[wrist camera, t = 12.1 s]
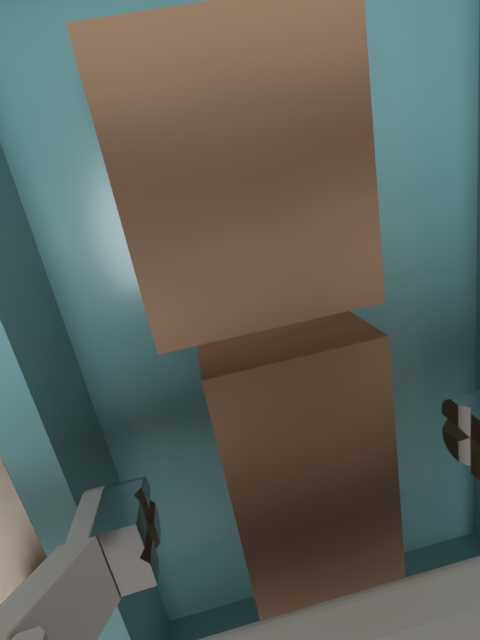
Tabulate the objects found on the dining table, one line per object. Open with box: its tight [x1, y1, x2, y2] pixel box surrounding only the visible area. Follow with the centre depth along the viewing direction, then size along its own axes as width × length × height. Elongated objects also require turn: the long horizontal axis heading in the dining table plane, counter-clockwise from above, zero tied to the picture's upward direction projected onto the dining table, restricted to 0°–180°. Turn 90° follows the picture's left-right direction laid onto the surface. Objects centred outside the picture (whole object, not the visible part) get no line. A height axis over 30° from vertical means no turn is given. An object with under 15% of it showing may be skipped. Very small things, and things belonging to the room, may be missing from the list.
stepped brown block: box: [65, 0, 406, 621], centre depth 11 cm, size 17×6×5 cm, turn 11°
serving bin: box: [0, 0, 480, 640], centre depth 12 cm, size 24×16×4 cm
